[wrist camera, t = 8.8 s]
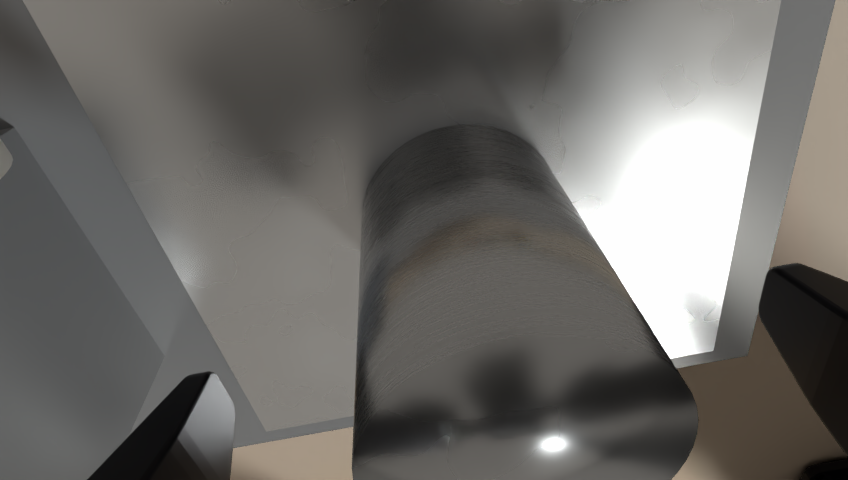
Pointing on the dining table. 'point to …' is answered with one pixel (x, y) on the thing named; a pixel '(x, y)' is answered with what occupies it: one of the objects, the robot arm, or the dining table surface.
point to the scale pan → (399, 123)
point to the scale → (165, 293)
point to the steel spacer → (501, 329)
